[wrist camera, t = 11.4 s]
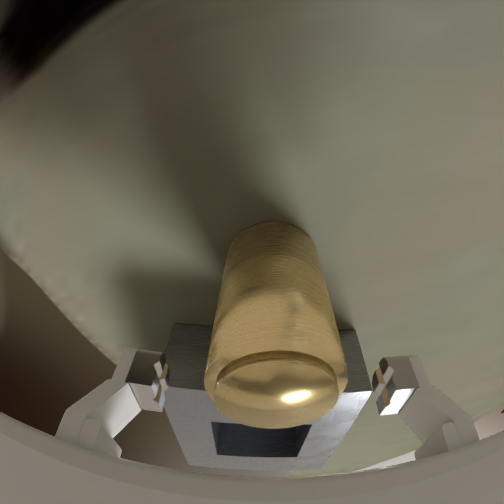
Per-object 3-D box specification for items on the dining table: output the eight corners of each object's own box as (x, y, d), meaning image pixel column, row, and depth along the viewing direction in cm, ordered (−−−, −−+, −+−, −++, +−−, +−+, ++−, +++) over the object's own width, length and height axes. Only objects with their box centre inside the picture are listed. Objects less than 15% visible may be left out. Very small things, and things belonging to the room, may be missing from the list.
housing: (174, 323, 19) (155, 384, 15) (355, 330, 19) (372, 390, 15) (195, 421, 27) (188, 464, 22) (316, 425, 26) (320, 468, 22)
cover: (225, 219, 15) (193, 352, 8) (324, 224, 15) (369, 355, 8) (226, 296, 18) (208, 429, 11) (311, 300, 18) (331, 431, 11)
